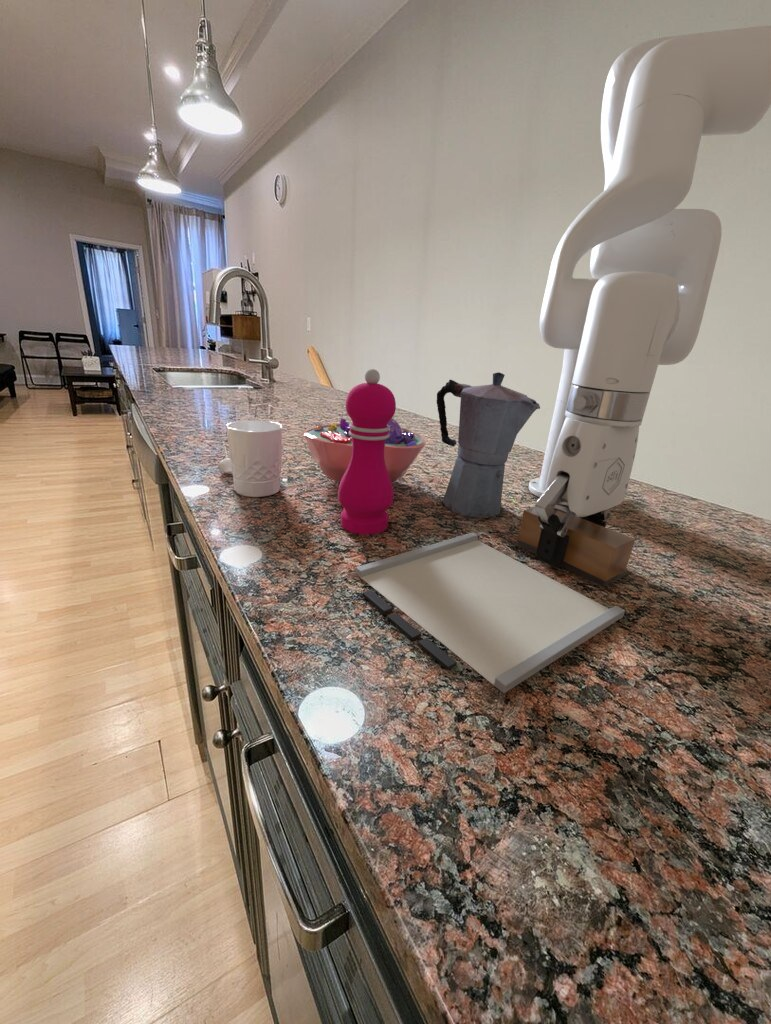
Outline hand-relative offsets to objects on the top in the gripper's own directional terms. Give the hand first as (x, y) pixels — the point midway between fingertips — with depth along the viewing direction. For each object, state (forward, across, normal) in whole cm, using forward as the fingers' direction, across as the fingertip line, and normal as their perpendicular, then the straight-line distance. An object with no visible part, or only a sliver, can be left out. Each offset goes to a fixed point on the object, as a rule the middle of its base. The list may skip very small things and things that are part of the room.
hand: (567, 553), depth 54 cm
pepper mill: (+1, -16, +20) cm, 26 cm away
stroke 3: (+1, -25, -4) cm, 26 cm away
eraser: (+1, 0, 0) cm, 1 cm away
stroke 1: (+1, -25, +4) cm, 26 cm away
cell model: (+1, -6, +35) cm, 36 cm away
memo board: (+1, -15, 0) cm, 15 cm away
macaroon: (+1, -24, +48) cm, 54 cm away
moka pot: (+1, +2, +18) cm, 18 cm away
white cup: (+1, -23, +39) cm, 45 cm away
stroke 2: (+1, -26, 0) cm, 26 cm away
